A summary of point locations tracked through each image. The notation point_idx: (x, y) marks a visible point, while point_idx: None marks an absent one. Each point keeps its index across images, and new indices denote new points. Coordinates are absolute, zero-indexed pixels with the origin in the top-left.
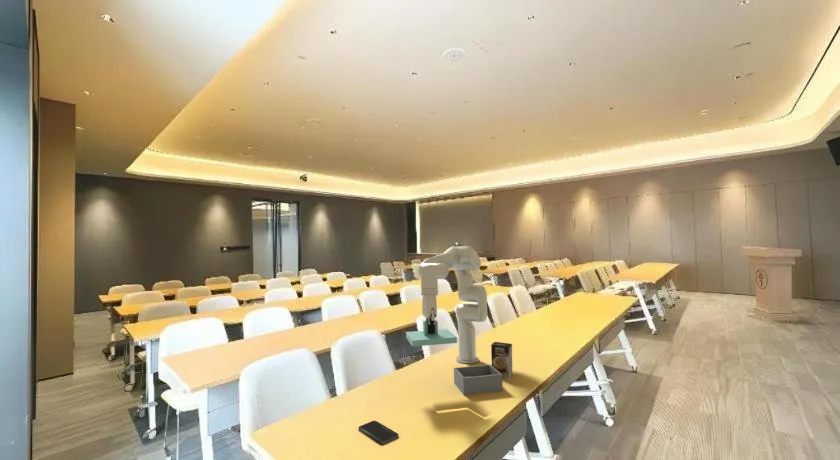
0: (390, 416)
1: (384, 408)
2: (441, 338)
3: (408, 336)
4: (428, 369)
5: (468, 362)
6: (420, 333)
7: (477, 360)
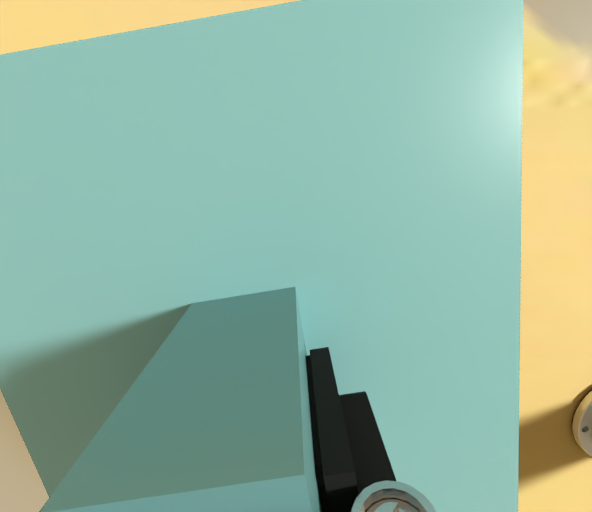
0: (42, 40)
1: (118, 7)
2: (49, 494)
3: (245, 20)
4: (557, 236)
5: (577, 416)
6: (349, 243)
7: (587, 453)
